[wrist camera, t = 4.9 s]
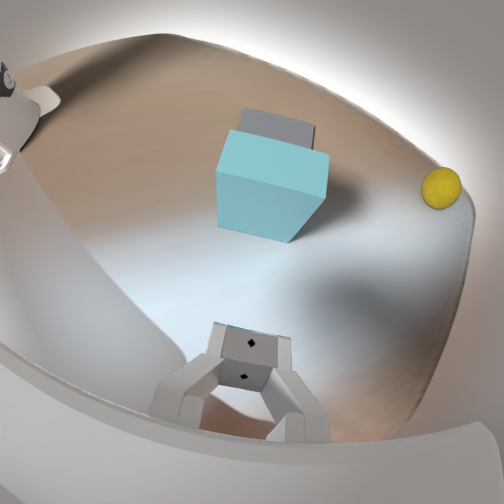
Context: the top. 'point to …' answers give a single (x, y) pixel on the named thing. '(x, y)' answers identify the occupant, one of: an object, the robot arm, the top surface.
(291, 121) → the mat
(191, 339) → the top surface
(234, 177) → the teal block
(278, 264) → the top surface
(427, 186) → the lemon
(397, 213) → the top surface
